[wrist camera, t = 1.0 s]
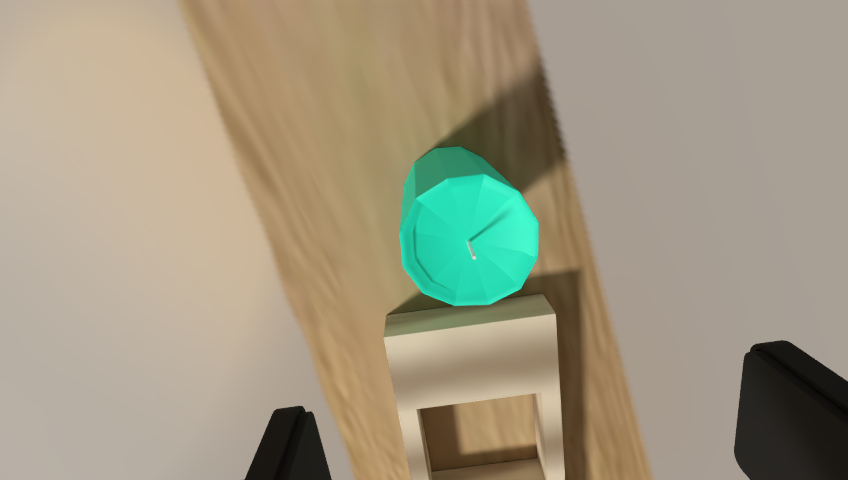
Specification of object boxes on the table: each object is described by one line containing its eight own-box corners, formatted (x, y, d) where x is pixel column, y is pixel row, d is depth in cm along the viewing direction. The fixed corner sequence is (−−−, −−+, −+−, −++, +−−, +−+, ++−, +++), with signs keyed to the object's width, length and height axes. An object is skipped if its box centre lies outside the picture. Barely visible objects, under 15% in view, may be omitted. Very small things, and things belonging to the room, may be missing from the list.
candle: (515, 187, 29) (583, 249, 18) (453, 254, 30) (478, 352, 19) (446, 125, 28) (469, 147, 16) (384, 197, 29) (365, 265, 18)
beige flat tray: (386, 315, 32) (383, 337, 29) (542, 293, 31) (555, 313, 28) (426, 527, 38) (427, 562, 35) (556, 510, 37) (568, 544, 35)
